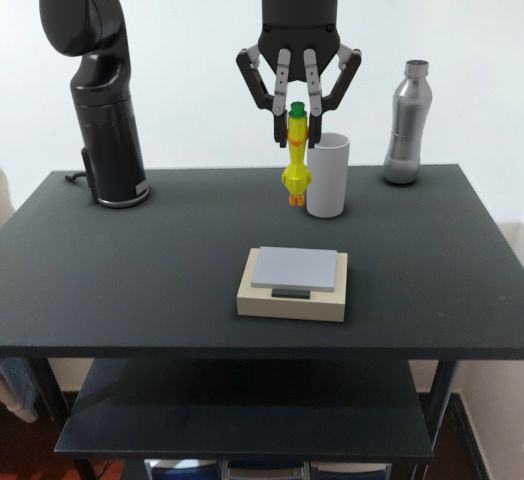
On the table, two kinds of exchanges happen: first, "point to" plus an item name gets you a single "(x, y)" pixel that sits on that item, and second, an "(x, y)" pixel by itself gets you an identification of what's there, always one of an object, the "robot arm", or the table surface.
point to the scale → (294, 284)
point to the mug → (328, 174)
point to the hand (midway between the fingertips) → (297, 145)
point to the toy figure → (297, 154)
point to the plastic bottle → (408, 123)
